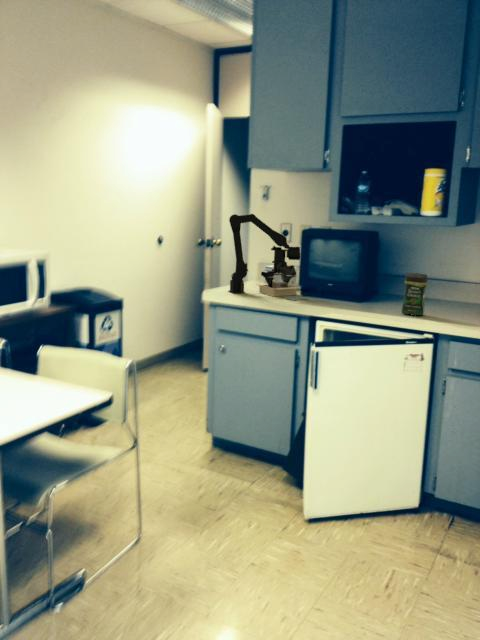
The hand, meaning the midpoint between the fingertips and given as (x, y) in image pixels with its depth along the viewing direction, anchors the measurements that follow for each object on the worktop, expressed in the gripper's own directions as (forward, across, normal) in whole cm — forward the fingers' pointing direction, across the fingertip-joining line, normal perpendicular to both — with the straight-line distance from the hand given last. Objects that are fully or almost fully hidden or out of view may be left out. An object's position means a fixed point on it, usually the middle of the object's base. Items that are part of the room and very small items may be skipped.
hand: (278, 289), depth 320 cm
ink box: (+2, +18, +14) cm, 23 cm away
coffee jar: (+2, +22, -70) cm, 73 cm away
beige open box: (+2, 0, 0) cm, 2 cm away
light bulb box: (+2, +19, +27) cm, 33 cm away
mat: (+2, -1, -16) cm, 16 cm away
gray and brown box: (+2, 0, 0) cm, 2 cm away
